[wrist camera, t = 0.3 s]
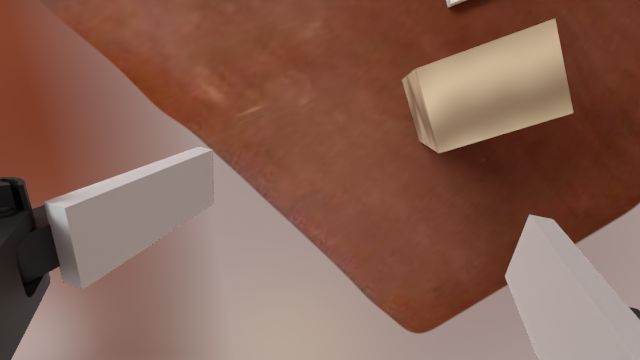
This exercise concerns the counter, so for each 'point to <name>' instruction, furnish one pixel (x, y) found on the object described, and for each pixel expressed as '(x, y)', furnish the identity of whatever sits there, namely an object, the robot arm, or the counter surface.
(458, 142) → the beech block
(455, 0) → the peg stand
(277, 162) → the counter surface
